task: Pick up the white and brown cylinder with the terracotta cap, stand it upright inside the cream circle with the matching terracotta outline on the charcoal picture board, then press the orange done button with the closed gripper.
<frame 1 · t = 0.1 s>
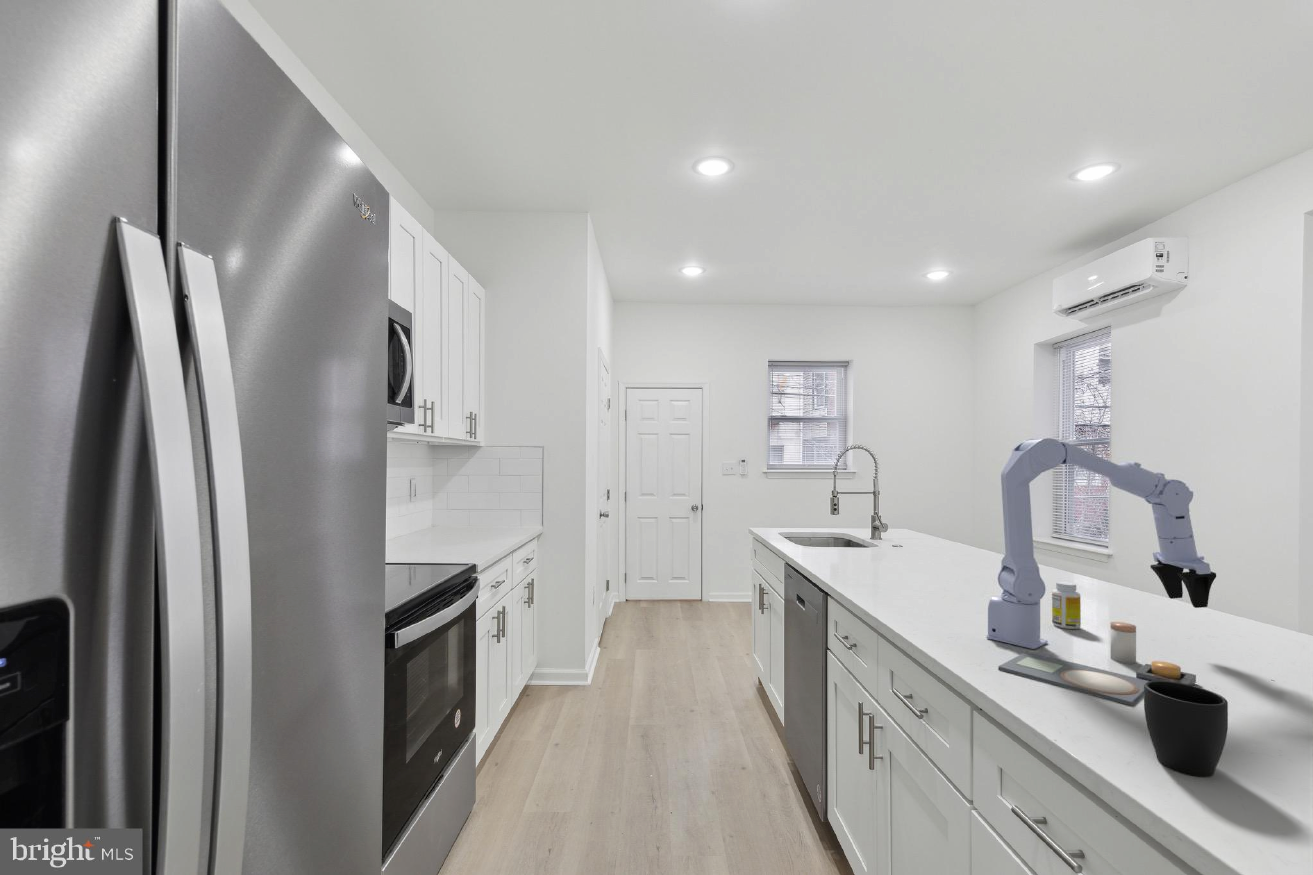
hand: (1187, 602, 123), 10 cm above the table, tool pointing down, fingers open, 7 cm apart
white and brown cylinder: (1123, 660, 118), on the table
black oval cup: (1183, 761, 79), on the table
done button: (1165, 670, 107), point 2 cm above the table, slide at 0.0 cm
done button housing: (1165, 681, 107), on the table
supplement bottle: (1066, 627, 141), on the table
picture board: (1073, 677, 109), on the table
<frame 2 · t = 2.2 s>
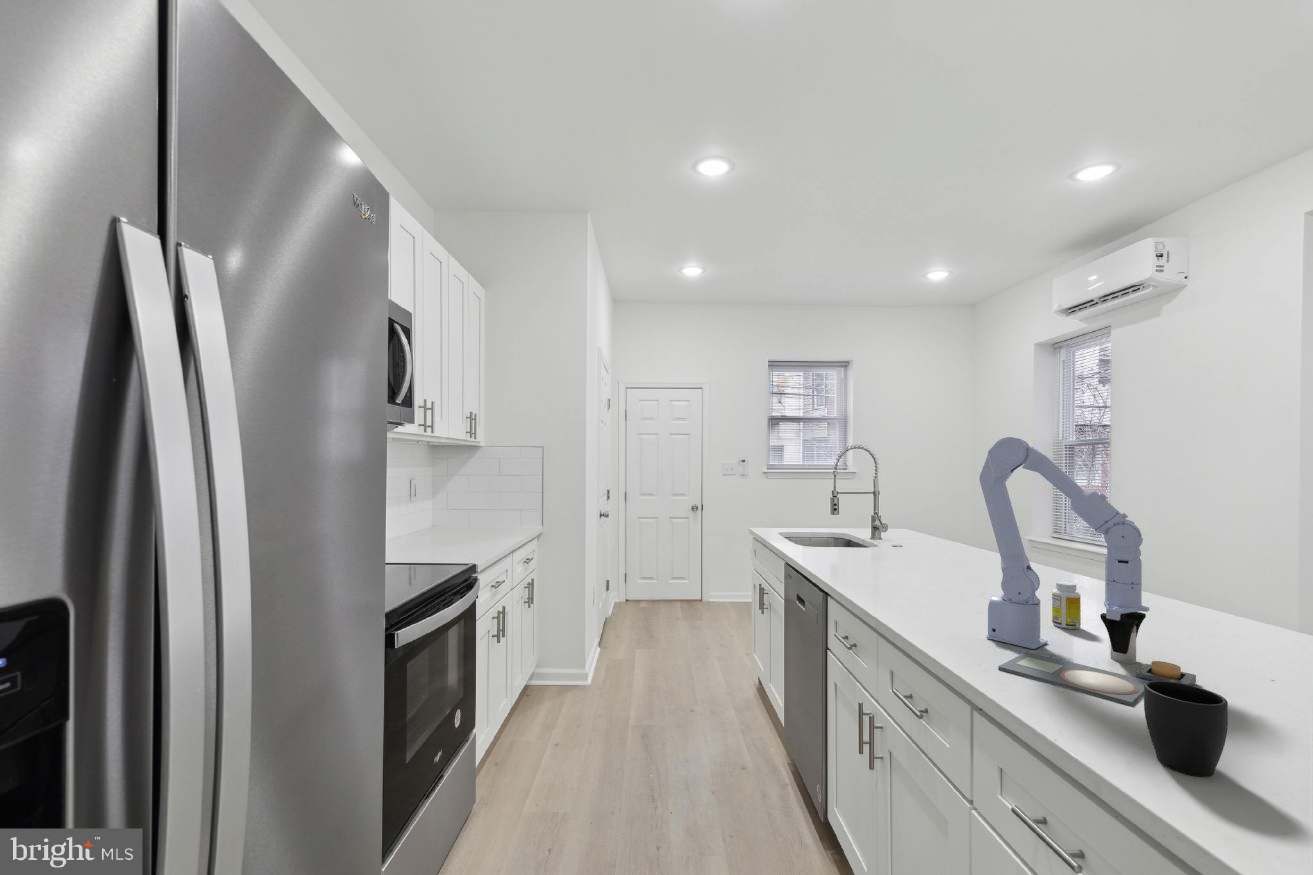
hand: (1123, 650, 118), 2 cm above the table, tool pointing down, fingers closed on white and brown cylinder, 4 cm apart
white and brown cylinder: (1123, 660, 118), on the table, touching gripper
everything else where it was.
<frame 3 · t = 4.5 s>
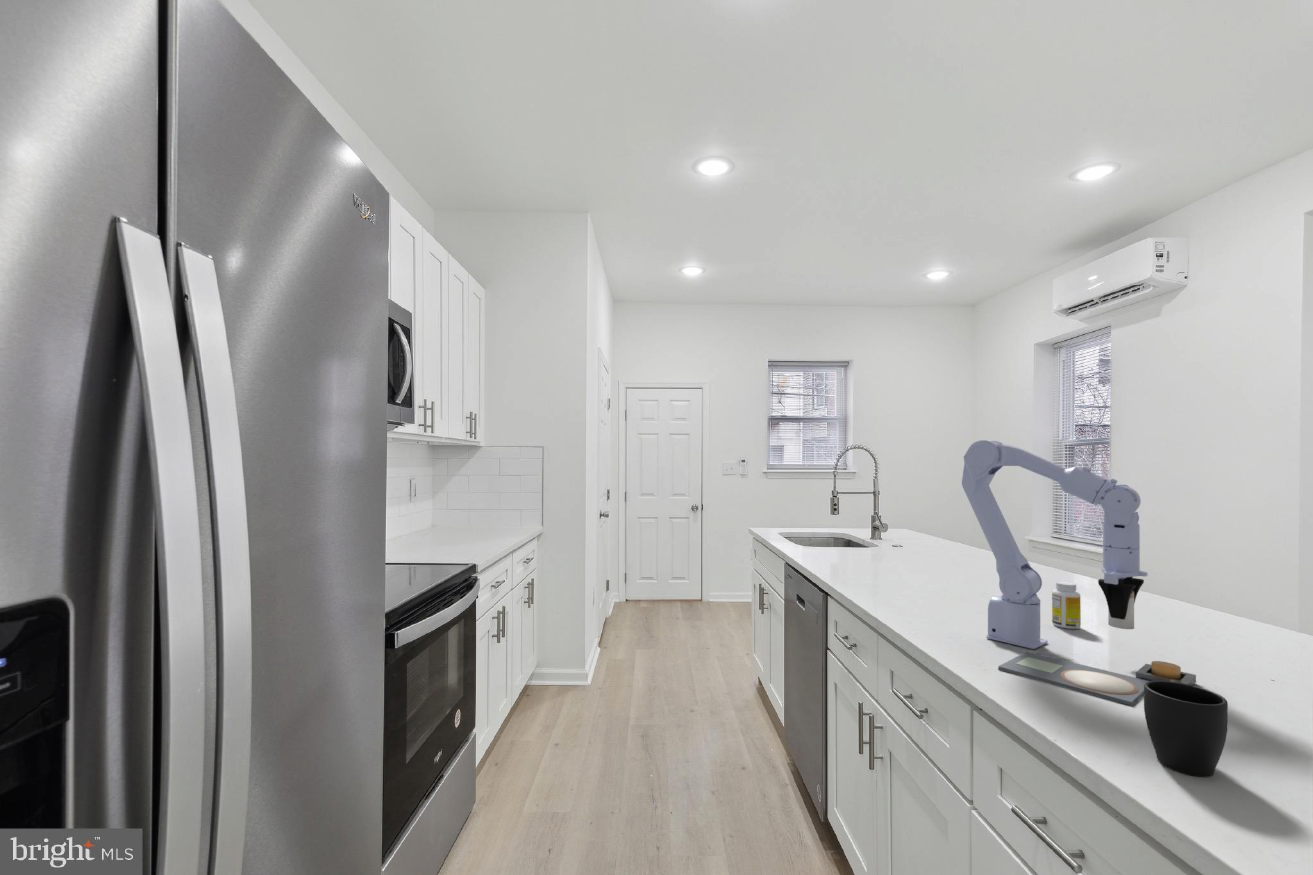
hand: (1121, 616, 117), 9 cm above the table, tool pointing down, fingers closed on white and brown cylinder, 4 cm apart
white and brown cylinder: (1121, 626, 117), point 7 cm above the table, touching gripper
everything else where it was.
when the fingers open (4 cm above the table, at t = 7.2 s): white and brown cylinder stays where it is, resting on picture board.
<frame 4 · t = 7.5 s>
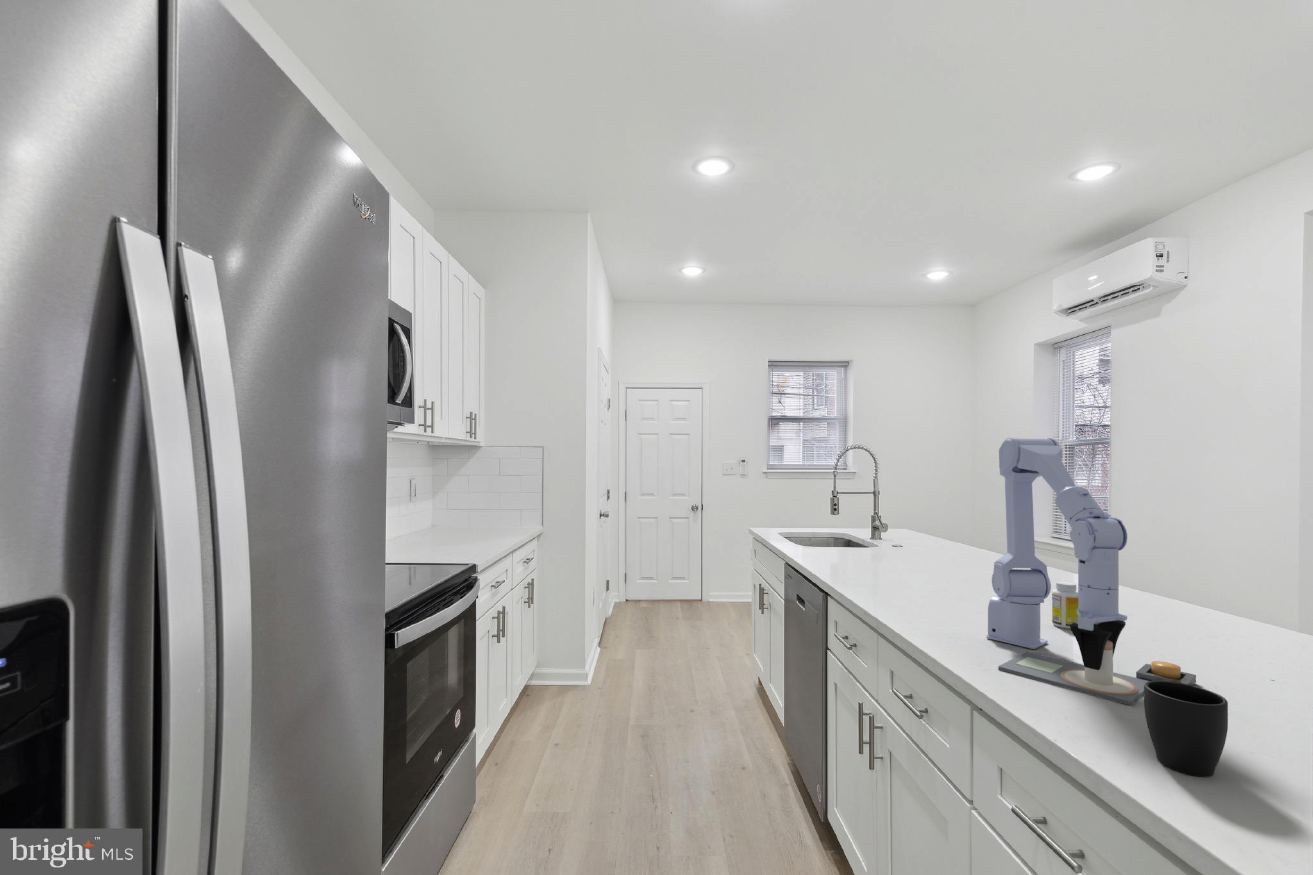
hand: (1098, 664, 105), 4 cm above the table, tool pointing down, fingers open, 6 cm apart
white and brown cylinder: (1098, 681, 105), point 1 cm above the table, touching picture board
everything else where it was.
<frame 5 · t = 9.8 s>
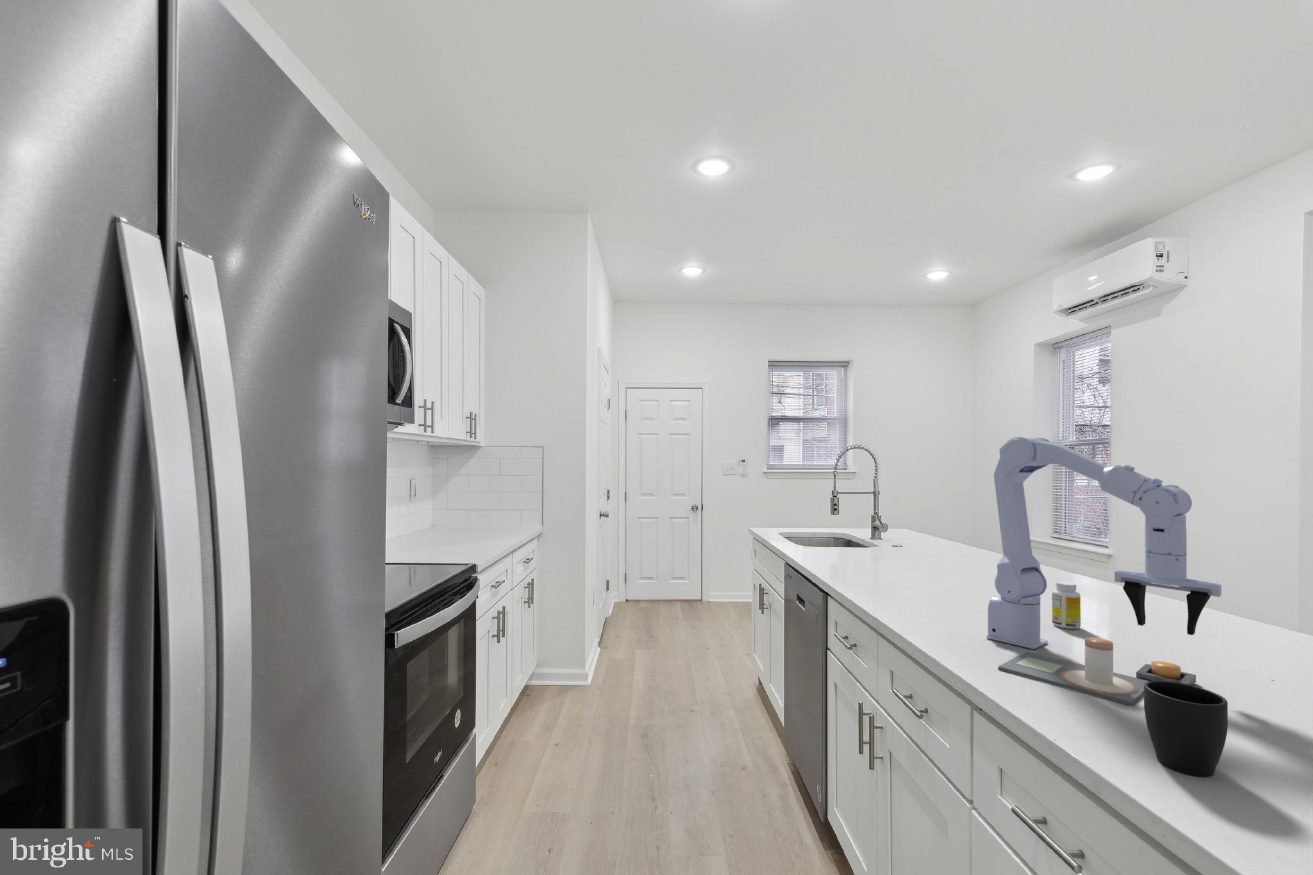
hand: (1165, 629, 107), 9 cm above the table, tool pointing down, fingers open, 6 cm apart
nothing on the table moved.
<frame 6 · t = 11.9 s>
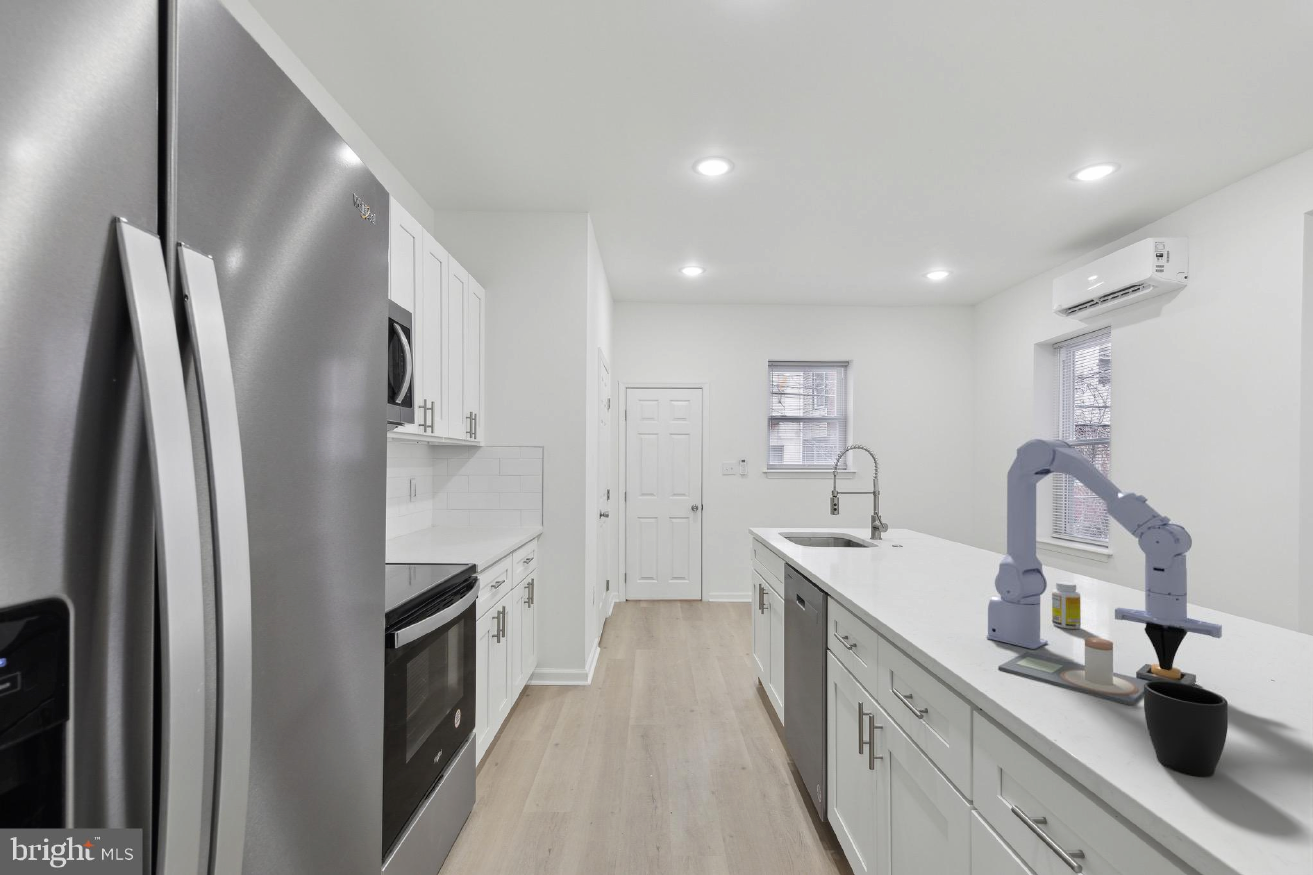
hand: (1166, 668, 107), 2 cm above the table, tool pointing down, fingers closed, pressing on done button
done button: (1165, 673, 107), point 2 cm above the table, slide at 0.6 cm, touching gripper
everything else where it was.
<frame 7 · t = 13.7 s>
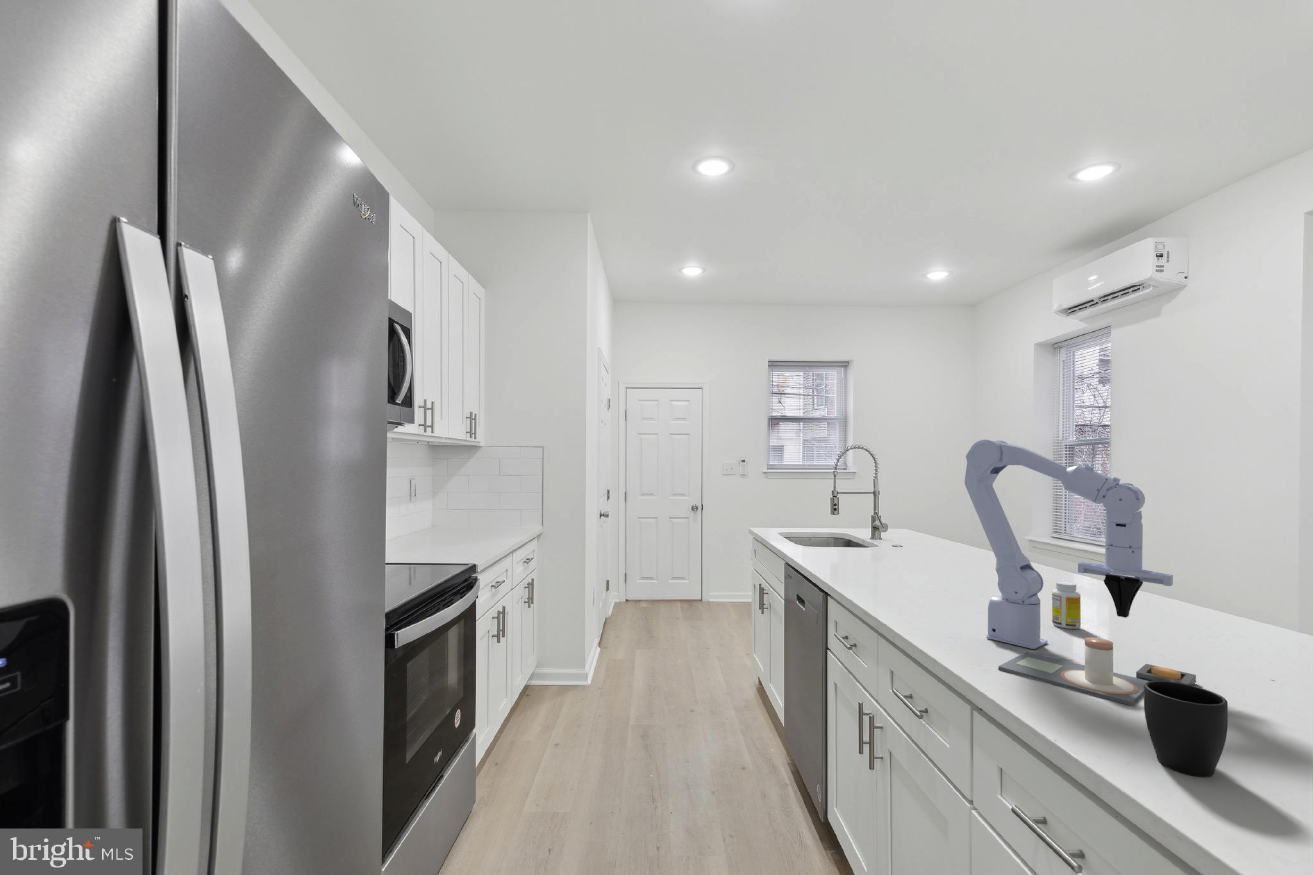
hand: (1122, 616, 116), 9 cm above the table, tool pointing down, fingers closed
done button: (1165, 675, 107), point 1 cm above the table, slide at 1.0 cm
everything else where it was.
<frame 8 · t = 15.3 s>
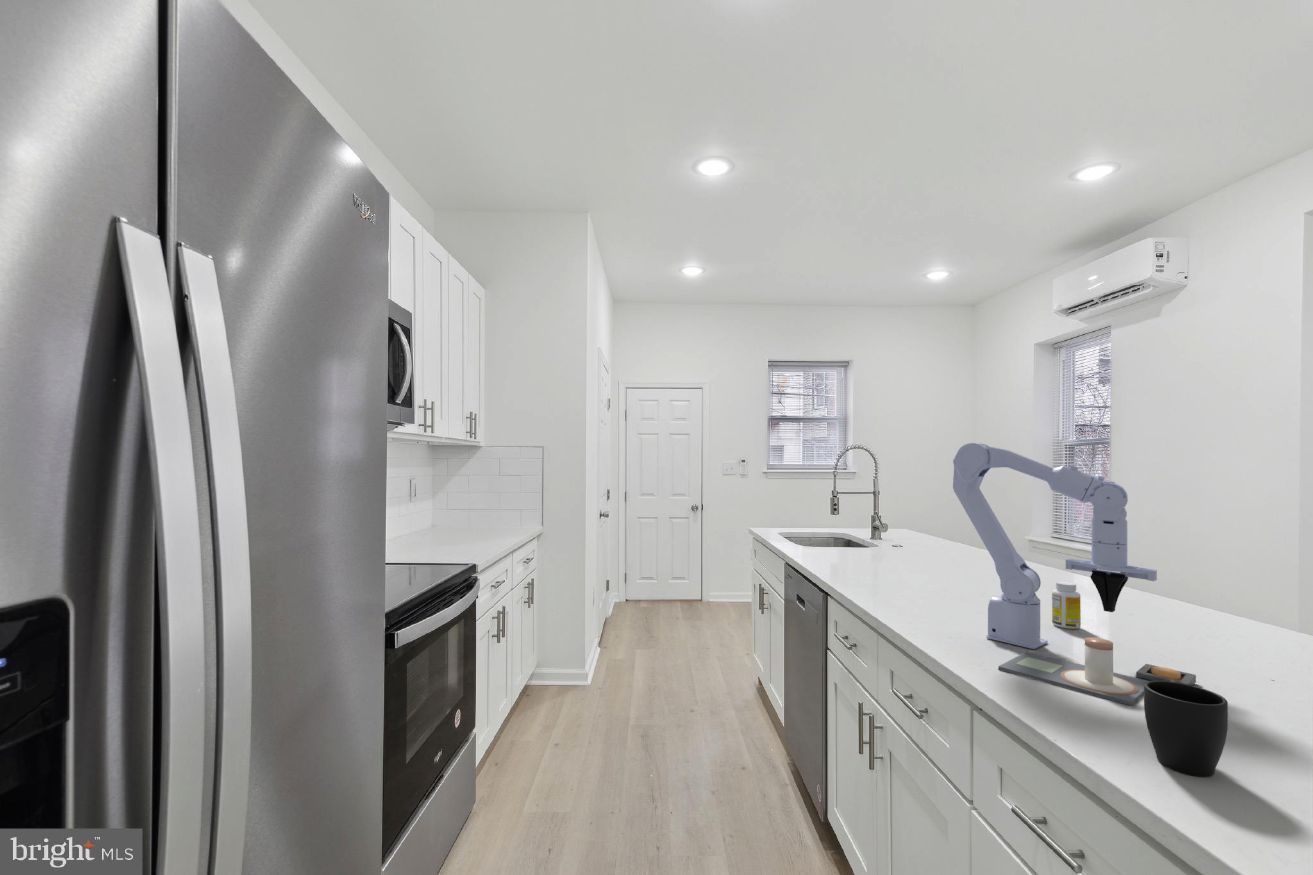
hand: (1109, 610, 119), 9 cm above the table, tool pointing down, fingers closed
nothing on the table moved.
at the end: white and brown cylinder 0.1 cm from the target spot, point 0.8 cm above the table; white and brown cylinder tilted 0°; done button slide at 1.0 cm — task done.
